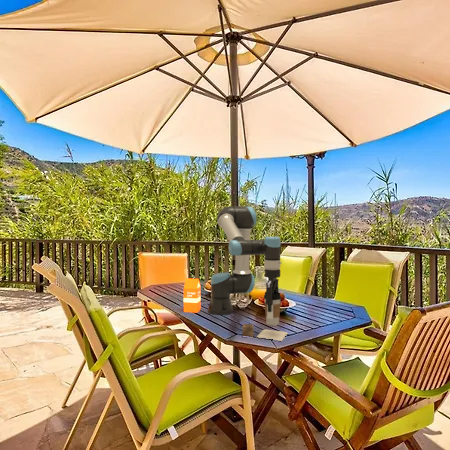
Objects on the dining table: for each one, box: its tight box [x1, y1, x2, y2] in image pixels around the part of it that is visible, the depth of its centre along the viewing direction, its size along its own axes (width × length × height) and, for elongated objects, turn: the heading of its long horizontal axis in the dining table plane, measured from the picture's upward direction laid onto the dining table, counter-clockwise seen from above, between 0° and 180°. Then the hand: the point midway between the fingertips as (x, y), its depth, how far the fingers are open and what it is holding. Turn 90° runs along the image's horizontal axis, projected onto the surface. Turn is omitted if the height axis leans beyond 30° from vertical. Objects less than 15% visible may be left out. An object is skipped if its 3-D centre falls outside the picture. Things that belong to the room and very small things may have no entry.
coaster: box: [256, 329, 288, 342], centre depth 159 cm, size 12×12×1 cm
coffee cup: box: [263, 291, 282, 326], centre depth 159 cm, size 8×8×15 cm
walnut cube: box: [242, 323, 255, 338], centre depth 160 cm, size 5×5×5 cm
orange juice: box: [183, 277, 202, 314], centre depth 205 cm, size 8×9×20 cm
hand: (272, 316), depth 159 cm, fingers closed on coffee cup, 8 cm apart
